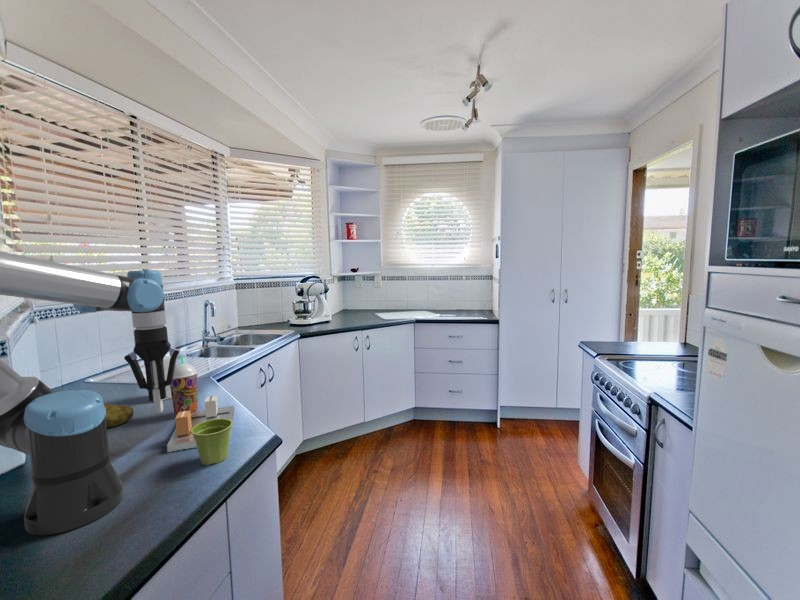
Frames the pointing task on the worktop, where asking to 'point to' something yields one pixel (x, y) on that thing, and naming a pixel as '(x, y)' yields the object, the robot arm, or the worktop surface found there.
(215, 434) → the plant pot
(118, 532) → the worktop surface
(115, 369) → the worktop surface
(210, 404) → the fader far
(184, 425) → the fader near
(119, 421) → the potato
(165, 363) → the skincare box
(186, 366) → the smoothie
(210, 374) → the worktop surface
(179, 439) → the console
